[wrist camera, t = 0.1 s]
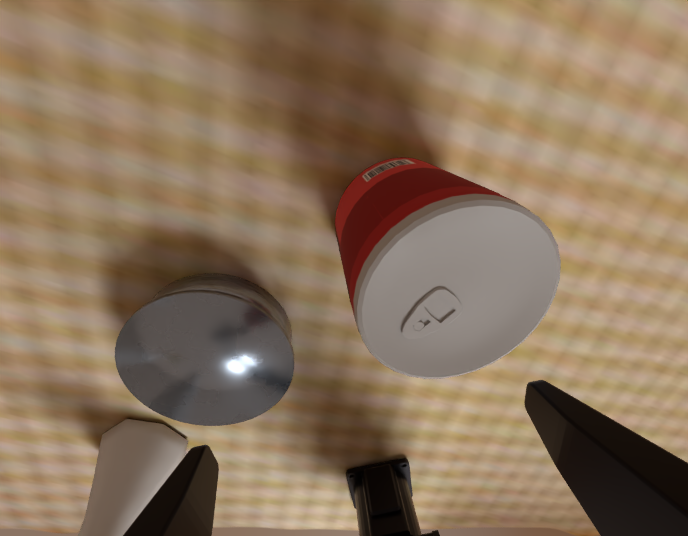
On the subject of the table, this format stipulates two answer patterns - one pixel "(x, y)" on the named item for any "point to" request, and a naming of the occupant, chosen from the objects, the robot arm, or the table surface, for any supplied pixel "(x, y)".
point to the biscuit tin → (207, 351)
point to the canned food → (441, 268)
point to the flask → (129, 474)
